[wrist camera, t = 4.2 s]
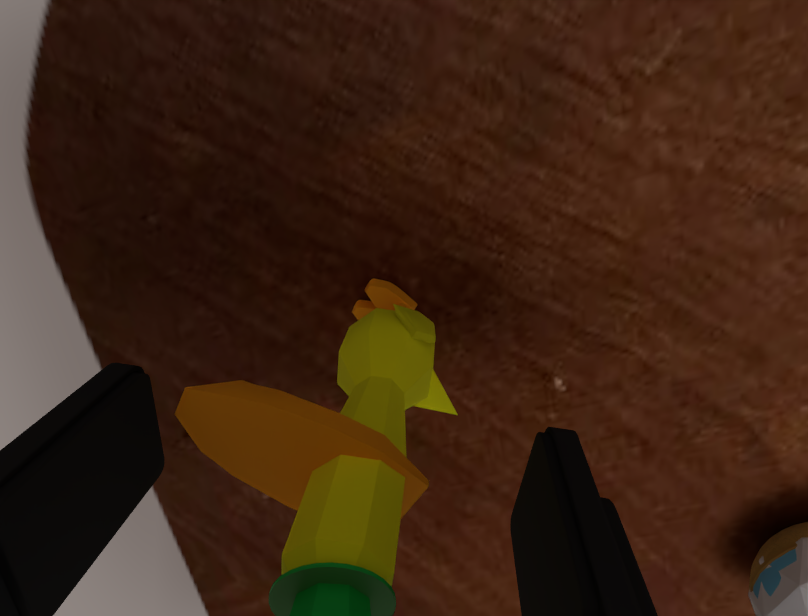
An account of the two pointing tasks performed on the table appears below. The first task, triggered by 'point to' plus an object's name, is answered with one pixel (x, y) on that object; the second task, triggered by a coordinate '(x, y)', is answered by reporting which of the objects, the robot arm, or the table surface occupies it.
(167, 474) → the table surface
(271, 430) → the toy figure
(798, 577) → the ornament
